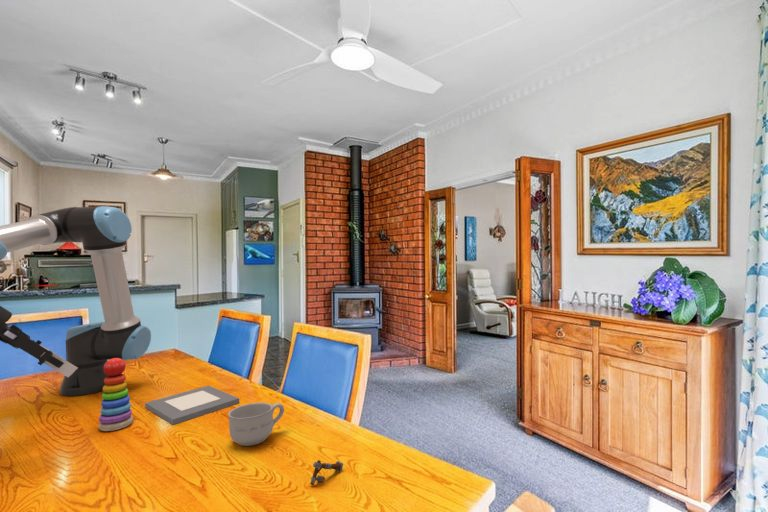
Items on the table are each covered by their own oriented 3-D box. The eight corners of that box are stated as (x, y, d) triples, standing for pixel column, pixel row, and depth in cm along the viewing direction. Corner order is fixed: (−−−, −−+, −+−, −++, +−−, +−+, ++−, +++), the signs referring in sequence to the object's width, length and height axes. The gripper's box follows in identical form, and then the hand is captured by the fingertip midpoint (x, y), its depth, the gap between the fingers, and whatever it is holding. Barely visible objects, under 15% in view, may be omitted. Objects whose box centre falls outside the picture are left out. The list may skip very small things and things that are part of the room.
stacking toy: (140, 420, 110) (139, 354, 110) (118, 433, 103) (117, 362, 102) (114, 419, 111) (113, 354, 111) (90, 432, 103) (89, 362, 103)
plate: (145, 407, 120) (145, 402, 120) (208, 389, 135) (208, 384, 135) (172, 424, 107) (172, 418, 107) (239, 403, 123) (239, 397, 123)
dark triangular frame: (304, 483, 78) (311, 458, 79) (331, 482, 83) (337, 459, 85) (310, 486, 76) (317, 461, 78) (337, 485, 82) (343, 462, 83)
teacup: (231, 455, 90) (230, 421, 90) (226, 436, 100) (226, 405, 100) (290, 441, 97) (290, 409, 97) (280, 424, 106) (280, 395, 106)
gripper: (-42, 324, 93) (41, 371, 104) (-32, 337, 77) (65, 391, 89) (-11, 300, 97) (66, 348, 108) (4, 307, 81) (92, 363, 93)
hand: (66, 367), depth 99 cm, fingers open, 13 cm apart
